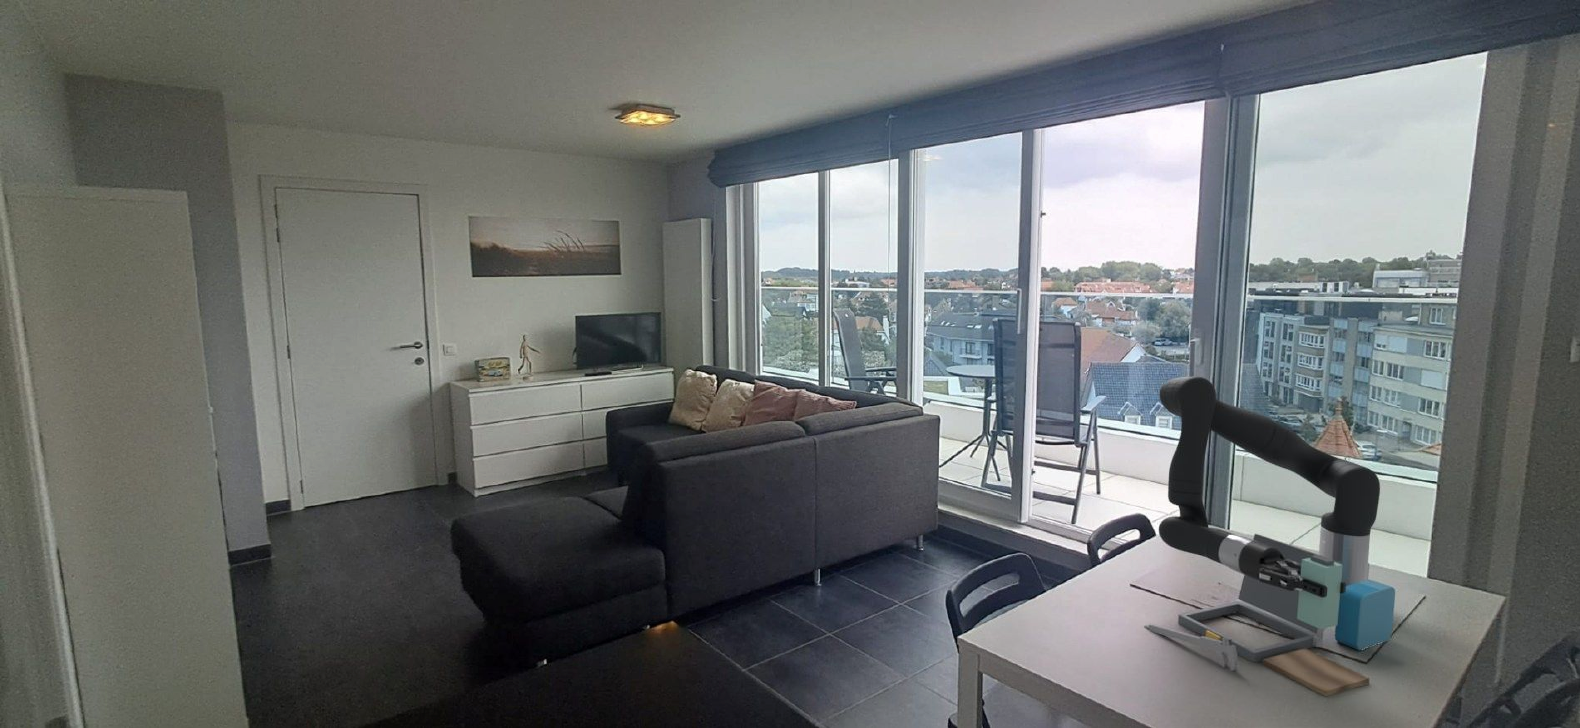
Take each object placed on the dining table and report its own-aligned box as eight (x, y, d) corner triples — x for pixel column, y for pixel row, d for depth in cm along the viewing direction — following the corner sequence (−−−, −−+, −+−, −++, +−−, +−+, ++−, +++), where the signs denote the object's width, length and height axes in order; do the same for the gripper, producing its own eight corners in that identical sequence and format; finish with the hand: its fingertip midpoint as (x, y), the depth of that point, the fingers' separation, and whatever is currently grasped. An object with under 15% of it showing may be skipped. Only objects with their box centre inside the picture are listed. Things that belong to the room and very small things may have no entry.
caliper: (1236, 672, 140) (1238, 641, 140) (1233, 673, 140) (1235, 642, 139) (1146, 627, 159) (1148, 600, 158) (1143, 628, 158) (1144, 601, 158)
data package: (1367, 631, 155) (1371, 577, 154) (1391, 640, 151) (1396, 585, 150) (1333, 642, 151) (1337, 588, 149) (1357, 652, 147) (1362, 596, 145)
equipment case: (1254, 605, 168) (1259, 532, 166) (1340, 643, 150) (1346, 562, 148) (1176, 623, 160) (1179, 547, 158) (1256, 665, 142) (1262, 580, 140)
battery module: (1313, 615, 141) (1318, 552, 139) (1337, 625, 136) (1343, 560, 135) (1297, 618, 139) (1302, 555, 138) (1320, 629, 135) (1326, 564, 134)
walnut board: (1304, 653, 147) (1305, 648, 146) (1368, 683, 135) (1369, 678, 135) (1262, 664, 143) (1262, 659, 142) (1324, 696, 131) (1325, 691, 131)
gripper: (1226, 544, 148) (1310, 576, 132) (1275, 536, 152) (1362, 566, 136) (1223, 579, 148) (1307, 615, 132) (1273, 570, 153) (1359, 603, 137)
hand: (1334, 590), depth 134 cm, fingers closed on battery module, 4 cm apart
